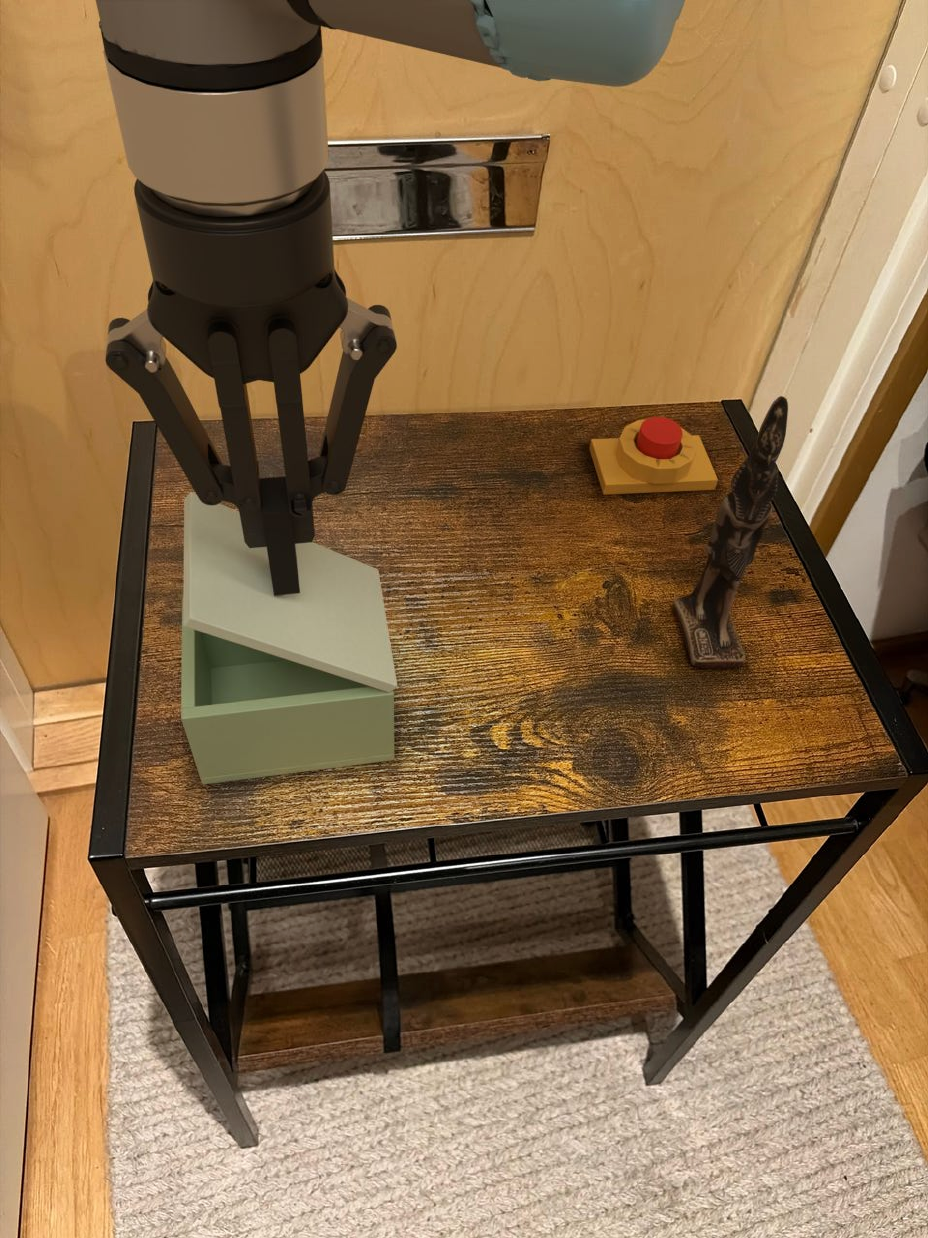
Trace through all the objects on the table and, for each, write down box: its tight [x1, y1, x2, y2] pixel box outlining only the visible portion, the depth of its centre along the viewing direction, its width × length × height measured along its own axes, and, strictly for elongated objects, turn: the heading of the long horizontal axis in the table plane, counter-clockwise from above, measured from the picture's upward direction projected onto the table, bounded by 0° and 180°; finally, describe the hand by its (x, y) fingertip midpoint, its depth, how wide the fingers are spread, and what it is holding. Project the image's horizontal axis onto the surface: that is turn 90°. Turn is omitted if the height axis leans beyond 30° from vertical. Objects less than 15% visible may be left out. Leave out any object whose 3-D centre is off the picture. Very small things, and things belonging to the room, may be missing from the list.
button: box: [637, 416, 683, 459], centre depth 81 cm, size 4×4×2 cm
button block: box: [588, 418, 719, 496], centre depth 82 cm, size 10×6×3 cm, turn 97°
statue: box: [672, 395, 789, 669], centre depth 64 cm, size 4×7×20 cm, turn 6°
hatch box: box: [180, 596, 395, 785], centre depth 62 cm, size 13×10×8 cm
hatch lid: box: [182, 491, 398, 692], centre depth 56 cm, size 14×10×1 cm
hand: (285, 576), depth 55 cm, fingers closed
